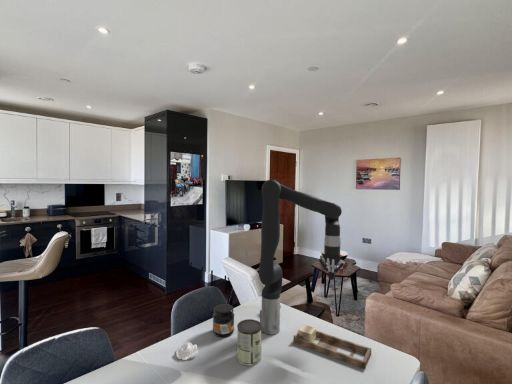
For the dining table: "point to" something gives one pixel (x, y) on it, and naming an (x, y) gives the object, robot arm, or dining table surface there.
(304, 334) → the oak block
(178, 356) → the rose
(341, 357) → the track
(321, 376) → the dining table surface
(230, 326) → the supplement container
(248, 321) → the coffee can
